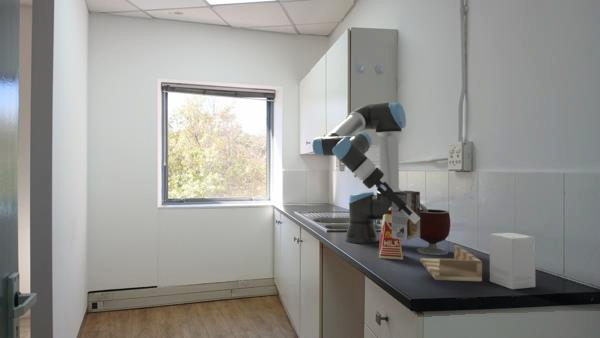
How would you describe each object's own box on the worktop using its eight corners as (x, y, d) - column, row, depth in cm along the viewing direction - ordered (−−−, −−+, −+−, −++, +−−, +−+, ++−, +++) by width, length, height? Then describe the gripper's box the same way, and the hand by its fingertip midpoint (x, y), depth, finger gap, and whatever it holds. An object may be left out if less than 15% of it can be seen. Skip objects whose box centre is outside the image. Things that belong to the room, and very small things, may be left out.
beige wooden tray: (420, 261, 144) (420, 244, 144) (458, 262, 143) (458, 245, 143) (435, 279, 120) (435, 260, 120) (482, 281, 119) (482, 261, 119)
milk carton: (403, 259, 147) (403, 207, 147) (378, 258, 149) (378, 206, 149) (401, 254, 156) (402, 205, 156) (378, 253, 158) (378, 204, 157)
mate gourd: (457, 253, 157) (457, 204, 157) (432, 256, 151) (432, 206, 151) (429, 246, 171) (429, 201, 171) (405, 249, 165) (405, 202, 165)
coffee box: (404, 234, 139) (404, 190, 139) (420, 236, 135) (420, 191, 135) (390, 238, 133) (390, 191, 133) (407, 240, 128) (407, 192, 128)
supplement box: (536, 287, 113) (537, 236, 113) (512, 290, 110) (512, 238, 110) (511, 278, 121) (511, 231, 121) (488, 281, 119) (488, 233, 119)
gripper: (359, 179, 147) (401, 221, 145) (363, 183, 124) (412, 232, 122) (373, 166, 146) (415, 207, 145) (379, 166, 123) (429, 215, 122)
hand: (414, 218), depth 134 cm, fingers closed on coffee box, 10 cm apart
